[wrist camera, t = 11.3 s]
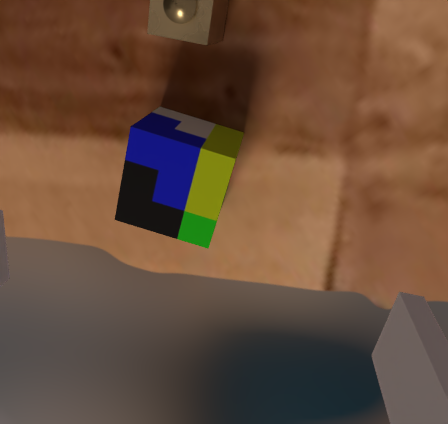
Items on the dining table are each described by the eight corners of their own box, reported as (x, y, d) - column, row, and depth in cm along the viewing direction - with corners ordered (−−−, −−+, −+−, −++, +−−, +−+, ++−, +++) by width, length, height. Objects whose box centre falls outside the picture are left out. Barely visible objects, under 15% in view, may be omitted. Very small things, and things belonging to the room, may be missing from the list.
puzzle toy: (160, 106, 45) (130, 126, 36) (244, 132, 45) (235, 159, 36) (144, 184, 49) (114, 219, 40) (220, 208, 49) (208, 248, 40)
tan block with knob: (175, 32, 41) (145, 33, 32) (181, -23, 39) (151, -39, 30) (222, 41, 41) (206, 45, 32) (231, -14, 39) (216, -26, 29)
